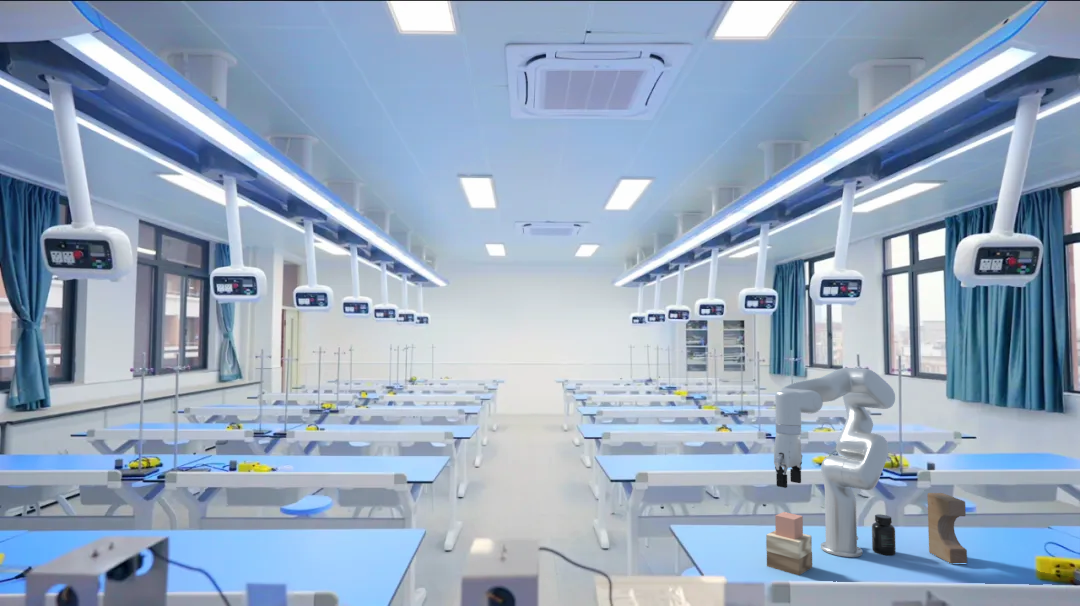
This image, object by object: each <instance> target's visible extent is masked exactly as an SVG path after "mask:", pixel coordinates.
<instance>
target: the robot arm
mask: <svg viewBox="0 0 1080 606" xmlns="http://www.w3.org/2000/svg"><path fill="white" fill-rule="evenodd" d="M841 397H842V400H843V402H844V406H845V411H846V419H845V423H844V425H843V427H842V430H841V432H840V434H839V435H838V436H839V437H838V439H837V442H836V451H837V453H839V454H840V455H829V456H826V457H825V458H824V459H823V460H822V462H821V465H820V466H821V470H820V471H821V474H822V475H821V476H822V479H823V485H824V505H825V506H824V514H825V515H824V516H825V517H824V518H825V525H824V526H825V541H824V542H821V544H820V549H821V550H822V551H824V552H825V553H828V554H830V555H833V556H834V555H835V556H837V557H838V556H839V557H845V558H855V557H856V558H857V557H861V556H862V555H863V549H862V548H861V547H858V540H859V537H858V533H857V529H858V528H857V527H858V526H857V498H856V495H855V493H854V491H853V489H858V490H862V491H871V490H873V489H874V488H875V487H876V486H877V485H878V482H879V480H880V477H881V475H882V473H883V470H884V467H885V465H886V462H887V459H888V456H889V444H888V441H887V439H886V438H885V437H884V436H883V435H881V434H878V433H873V432H872V430H873V429H874V422H873V420H872V417H871V416H870V414H869V413H868V411H867V409H868V408H869V409H870V408H871V409H880V410H886V409H890V408H891V407H893V405H894V404H895V403H896V394H895V391H894V388H893V387H892V386H891V385H890V384H889V383H888V382H887V381H886V380H885V379H884V378H883V377H881V376H880V375H879V374H878V373H876V372H875V371H873V370H871V369H869V368H858V367H857V368H856V367H855V368H854V367H842V368H837V370H834V371H832V372H830V373H828V374H826V375H824V376H821V377H817V378H816V377H815V378H811V379H807V380H806V379H805V380H802V381H797V382H796V381H795V382H793V383H791V384H788V385H786V386H784V387H782V388H780V389H779V390H778V391H776V393H775V400H774V401H775V403H774V404H775V438H774V440H775V441H774V446H773V447H774V452H773V465H774V469H775V473H776V476H775V477H776V487H779V488H784V489H787V488H788V474H787V472H788V469H789V468H790V469H789V470H790V471H789V472H790V475H789V476H790V482H792V483H796V484H801V483H802V463H803V461H802V460H803V455H802V444H801V443H802V442H801V436H802V414H808V415H809V414H810V415H811V414H815V413H818V412H819V411H820V410H822V408H823V405H824V403H827V402H833V401H836V400H837V399H838V400H839V399H840V398H841ZM866 408H867V409H866ZM852 488H853V489H852Z"/></svg>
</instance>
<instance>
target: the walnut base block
mask: <svg viewBox="0 0 1080 606" xmlns="http://www.w3.org/2000/svg"><path fill="white" fill-rule="evenodd" d="M766 567H767V568H772V569H775V570H779V571H782V572H786V573H789V574H792V575H796V576H801V575H802V574H803V573H806V572H808V571H809V570H811V569H812V568H813V551H812V552H811V553H809V554H807V555H806V556H804V557H802V558H800V559H799V560H798V559H795V558H791V557H787V556H783V555H780V554H776V553H772V552H768V551H766Z"/></svg>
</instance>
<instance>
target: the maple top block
mask: <svg viewBox="0 0 1080 606" xmlns="http://www.w3.org/2000/svg"><path fill="white" fill-rule="evenodd" d="M765 539H766V542H765V543H766V544H765V545H766V546H765V547H766V548H765V550H766V552H767V551H768V552H772V553H776V554H780V555H783V556H787V557H791V558H795V559H798V560H799V559H800V558H802V557H804V556H806V555H807V554H809V553H811V552H812V553H813V551H812V549H813V548H812V545H813V544H812V535H810V534H806V533H803V536H801V537H799V538H797V539H795V540H794V539H790V538H786V537H782V536H778V535H776V529H775V530H774V531H773V530H772V531H771V532H769V533H767V534H766V537H765Z"/></svg>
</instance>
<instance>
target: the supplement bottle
mask: <svg viewBox="0 0 1080 606" xmlns="http://www.w3.org/2000/svg"><path fill="white" fill-rule="evenodd" d="M874 521H875V522H873V523H872V525H871V541H872V542H871V547H872V551H873V553H875V554H877V555H882V556H888V557H889V556H890V557H891V556H895V555H896V553H897V552H896V551H897V550H896V549H897V548H896V528H895V526H894V525H893V524H892V523H893V522H892V516H890V515H886V514H881V513H880V514H879V513H877V514H875V515H874Z"/></svg>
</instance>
